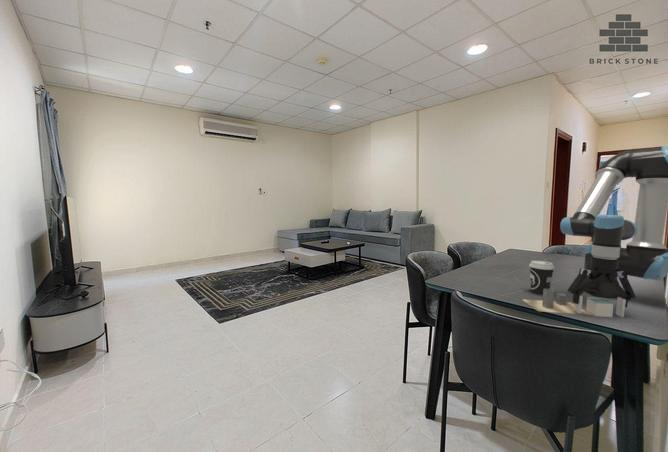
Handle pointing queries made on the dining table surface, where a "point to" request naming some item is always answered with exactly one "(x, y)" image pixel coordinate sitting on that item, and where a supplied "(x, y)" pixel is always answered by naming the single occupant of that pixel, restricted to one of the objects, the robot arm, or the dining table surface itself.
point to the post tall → (548, 298)
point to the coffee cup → (540, 276)
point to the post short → (561, 299)
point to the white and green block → (599, 306)
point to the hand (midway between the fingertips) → (598, 313)
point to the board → (554, 307)
